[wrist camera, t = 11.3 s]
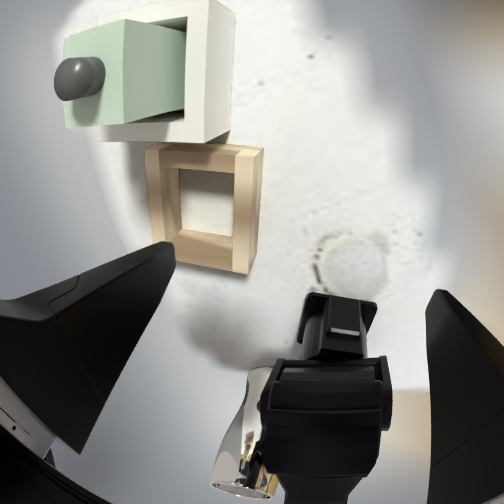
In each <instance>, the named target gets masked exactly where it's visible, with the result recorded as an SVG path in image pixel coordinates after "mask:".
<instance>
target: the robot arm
mask: <svg viewBox="0 0 504 504" xmlns="http://www.w3.org/2000/svg"><path fill="white" fill-rule="evenodd" d="M175 267H176V258H175V248H174V244H173V243H171V242H166V241H160V242H158V243H155V244H153V245H150V246H148V247H145V248H142V249H140V250H137V251H135V252H132V253H130V254H127V255H125V256H123V257H120V258H117V259H115V260H113V261H110V262H108V263H105V264H103V265H100V266H98V267H96V268H93V269H91V270H89V271H86V272H84V273H82V274H80V275H77V276H74V277H72V278H70V279H67V280H65V281H62V282H60V283H58V284H55V285H52V286H50V287H47V288H44V289H41V290H38V291H36V292H33V293H31V294H28V295H25V296H22V297H20V298H17V299H12V300H1V299H0V504H114V503H112V502H110V501H108V500H106V499H104V498H103V497H101V496H99V495H97V494H95V493H94V492H92V491H90V490H88V489H87V488H85V487H83V486H82V485H80V484H78V483H77V482H75V481H74V480H72V479H71V478H69V477H67V476H66V475H65V474H63V473H62V472H60V471H59V470H57V469H56V467H55V463H54V459H53V455H52V451H51V449H50V447H51V446H52V444H53V442H54V441H55V440H57V441H58V442H60V443H61V444H63V445H64V446H66V447H67V448H69V449H71V450H72V451H74V452H75V453H77V454H79V455H80V453H81V452H82V450H83V448H84V446H85V443H86V442H87V439H88V437H89V435H90V433H91V431H92V429H93V427H94V425H95V423H96V421H97V419H98V417H99V415H100V413H101V411H102V409H103V407H104V405H105V402H106V401H107V399H108V397H109V395H110V393H111V391H112V389H113V387H114V385H115V383H116V381H117V380H118V378H119V376H120V374H121V372H122V370H123V368H124V366H125V365H126V363H127V361H128V359H129V357H130V355H131V353H132V352H133V350H134V348H135V346H136V344H137V343H138V341H139V339H140V337H141V336H142V334H143V332H144V330H145V328H146V326H147V325H148V323H149V321H150V320H151V318H152V316H153V314H154V313H155V311H156V309H157V307H158V305H159V304H160V302H161V300H162V297H163V295H164V293H165V291H166V288H167V286H168V284H169V282H170V279H171V277H172V275H173V273H174V270H175ZM311 297H313V298H314V299H311ZM371 307H374V308H371ZM377 309H378V308H377V304H376V303H374V302H369V301H363V300H357V299H350V298H344V297H338V296H332V295H326V294H321V293H315V292H311V293H309V294H308V295H307V298H306V303H305V307H304V312H303V316H302V320H301V325H300V329H299V333H298V337H297V342H298V343H300V344H302V350H301V356H300V360H285V359H277V362H276V364H275V366H274V367H273V369H272V371H271V373H270V375H269V378H268V380H267V382H266V384H265V386H264V388H263V390H262V393H261V395H260V400H259V401H258V402H257V410H258V411H259V412H260V421H261V426H262V428H263V429H264V430H266V437H265V446H264V452H263V458H262V460H263V463H264V466H265V468H266V471H267V473H268V474H274V475H276V477H277V479H278V480H279V482H280V484H281V486H282V487H283V489H284V490H285V502H284V504H347V500H348V495H349V494H350V492H351V491H352V490H353V489H354V488H355V486H356V485H357V484H358V483H359V482H360V480H361V479H362V478H363V477H367V476H368V474H369V473H370V471H371V470H372V468H373V467H374V465H375V463H376V460H377V458H378V455H379V447H380V437H381V431H388V430H389V427H390V423H391V417H392V401H393V400H392V385H391V379H390V373H389V368H388V362H387V357H386V356H379V357H377V358H367V338H366V335H367V333H368V331H369V328H370V326H371V324H372V321H373V319H374V317H375V314H376V312H377ZM425 317H426V348H427V361H428V371H429V383H430V400H431V464H430V465H431V466H430V478H429V489H428V498H427V504H504V346H503V345H502V344H501V343H500V342H499V341H498V340H497V339H496V338H495V337H494V336H493V335H492V334H491V333H490V332H489V331H488V330H487V329H486V327H484V326H483V325H482V324H481V323H480V321H479V320H478V319H477V318H475V316H474V315H472V314H471V313H470V312H469V311H468V310H467V309H466V308H465V307H464V306H463V305H462V304H461V303H460V302H459V301H458V300H457V299H456V298H455V297H454V296H453V295H451V294H450V293H449V292H448V291H447V290H442V289H436V290H435V291H434V293H433V295H432V297H431V299H430V301H429V303H428V305H427V308H426V312H425Z"/></svg>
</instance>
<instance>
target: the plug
mask: <svg viewBox="0 0 504 504" xmlns="http://www.w3.org/2000/svg"><path fill="white" fill-rule="evenodd" d="M186 38H187V33H185V32H182V31H178V30H174V29H170V28H166V27H162V26H158V25H154V24H149V23H144V22H140V21H134V20H129V19H122V20H118V21H115V22H111V23H108V24H104V25H101V26H98V27H95V28H92V29H89V30H86V31H83V32H80V33H77V34H75V35H72V36H69V37H67V38H64V50H63V62H61V64H60V65H59V66H58V68H57V70H56V73H55V77H54V89H55V92H56V94H57V96H58V97H59V98H60V99H61V100H63V101H64V112H65V125H66V129H69V128H78V127H89V126H100V125H115V124H125V123H129V122H132V121H136V120H139V119H143V118H146V117H150V116H154V115H158V114H162V113H166V112H170V111H174V110H178V109H183V108H185V61H186Z"/></svg>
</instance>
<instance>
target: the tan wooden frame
mask: <svg viewBox="0 0 504 504" xmlns="http://www.w3.org/2000/svg"><path fill="white" fill-rule="evenodd" d="M263 151H264V148H262V147H252V146H241V145H230V144H216V143H187V142H161V143H159V144H157V145H154V146H152V147H150V148H148V149H145V150H144V157H145V171H146V183H147V194H148V204H149V213H150V222H151V230H152V238H153V244H155V243H158V242H160V241H166V242H171V243H173V244H174V248H175V258H176V261H180V262H186V263H191V264H196V265H201V266H206V267H211V268H216V269H221V270H227V271H232V272H237V273H242V274H248V272H249V270H250V268H251V265H252V263H253V261H254V258H255V256H256V253H257V239H258V224H259V210H260V196H261V181H262V166H263ZM179 168H182V169H195V170H206V171H216V172H226V173H235V179H234V214H233V237H228V236H222V235H216V234H210V233H204V232H198V231H191V230H185V229H182V223H181V208H180V189H179Z"/></svg>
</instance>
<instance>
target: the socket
mask: <svg viewBox="0 0 504 504" xmlns="http://www.w3.org/2000/svg"><path fill="white" fill-rule="evenodd" d="M122 19H129V20H134V21H140V22H144V23H149V24H154V25H158V26H162V27H166V28H170V29H174V30H178V31H182V32H187V38H186V61H185V113H162V114H158V115H154V116H150V117H146V118H143V119H139V120H136V121H132V122H129V123H125V124H115V125H100V126H97V127H98V140H99V142H127V141H151V142H187V143H205V142H207V141H209V140H211V139H213V138H215V137H217V136H219V135H221V134H223V133H225V132H227V131H229V130H230V124H231V98H232V76H233V56H234V37H235V21H236V13H234V12H233V11H231V10H230V9H229V8H227V7H226V6H224V5H223V4H221V3H220V2H218V1H217V0H175V1H169V2H164V3H159V4H154V5H149V6H145V7H141V8H137V9H133V10H129V11H125V12H121V13H118V14H114V15H111V16H108V17H104V18H101V19H98V20H97V27H98V26H101V25H104V24H108V23H111V22H115V21H118V20H122Z"/></svg>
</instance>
